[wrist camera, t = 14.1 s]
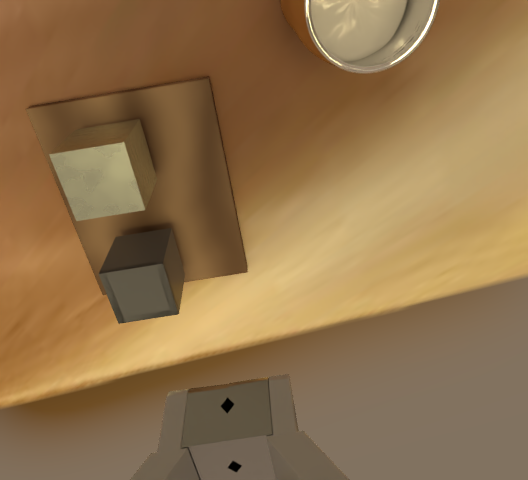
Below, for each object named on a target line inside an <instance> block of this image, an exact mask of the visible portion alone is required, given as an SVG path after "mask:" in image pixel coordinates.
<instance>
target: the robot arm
mask: <svg viewBox="0 0 528 480" xmlns="http://www.w3.org/2000/svg"><path fill="white" fill-rule="evenodd" d="M130 480H349V479H348V478H347V477H346V475H345V474H344V473H343V472H342V471H341V470H340V469H339V468H338V467H337V466H336V465H335V464H334V463H333V462H332V461H331V460H330V458H328V457H327V455H326V454H325V453H324V452H323V451H322V450H321V449H320V448H319V447H318V446H317V445H316V444H315V443H314V442H313V440H312V439H311V438H309V436H308V435H307V434H306V433H305V432H304V431H299V430H298V424H297V418H296V412H295V406H294V400H293V395H292V388H291V382H290V377H289V374H285V375H279V376H272V377H269V378H268V377H265V378H259V379H252V380H246V381H240V382H234V383H229V384H224V385H217V386H216V385H215V386H207V387H200V388H191V389H186V390H178V391H171V392H169V393H168V395H167V397H166V402H165V408H164V414H163V420H162V426H161V433H160V438H159V444H158V451H157V452H156V453H151V454H150V455H149V457H148V458H147V459H146V460H145V462H144V463H143V464H142V465H141V467H140V468H139V469H138V470H137V472H136V473H135V474H134V476H133V477H132V478H131V479H130Z"/></svg>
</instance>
